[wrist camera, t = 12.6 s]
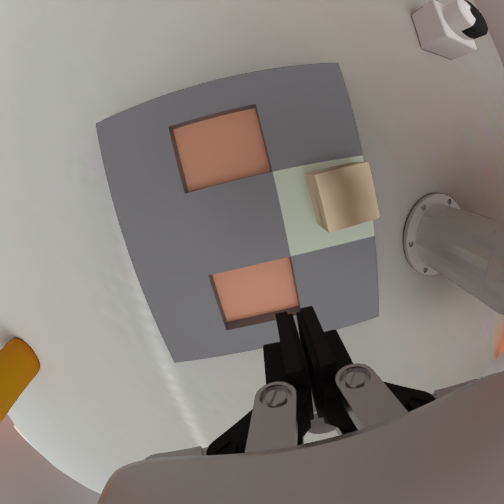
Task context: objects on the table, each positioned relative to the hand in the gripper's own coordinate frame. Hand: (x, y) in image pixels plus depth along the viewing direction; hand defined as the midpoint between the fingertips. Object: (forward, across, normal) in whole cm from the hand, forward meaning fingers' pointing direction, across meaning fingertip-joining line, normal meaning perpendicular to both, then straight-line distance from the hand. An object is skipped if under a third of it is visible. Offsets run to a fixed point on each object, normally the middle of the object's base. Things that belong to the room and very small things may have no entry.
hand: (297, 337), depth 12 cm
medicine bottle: (+24, -34, -26) cm, 49 cm away
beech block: (+20, -9, -3) cm, 22 cm away
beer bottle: (+22, +55, +15) cm, 61 cm away
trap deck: (+23, +2, -2) cm, 23 cm away
